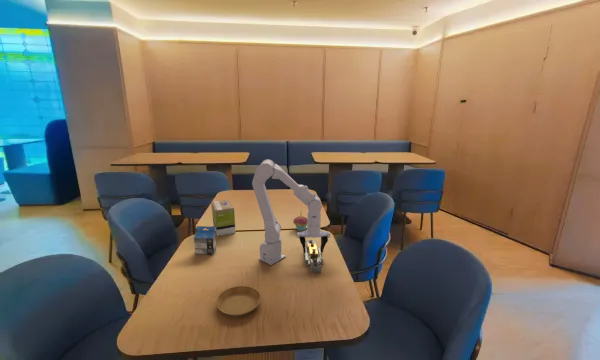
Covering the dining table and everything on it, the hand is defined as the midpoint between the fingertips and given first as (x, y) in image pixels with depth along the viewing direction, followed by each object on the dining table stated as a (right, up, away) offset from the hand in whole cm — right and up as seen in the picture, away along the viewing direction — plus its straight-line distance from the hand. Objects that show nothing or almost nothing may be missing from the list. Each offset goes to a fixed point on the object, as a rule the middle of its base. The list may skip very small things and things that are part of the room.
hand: (313, 251), depth 125 cm
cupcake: (-5, +5, +31) cm, 32 cm away
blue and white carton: (-49, -2, +5) cm, 50 cm away
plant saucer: (-27, -11, -29) cm, 41 cm away
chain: (0, -3, +1) cm, 3 cm away
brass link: (0, -2, +1) cm, 3 cm away
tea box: (-48, +5, +30) cm, 57 cm away
